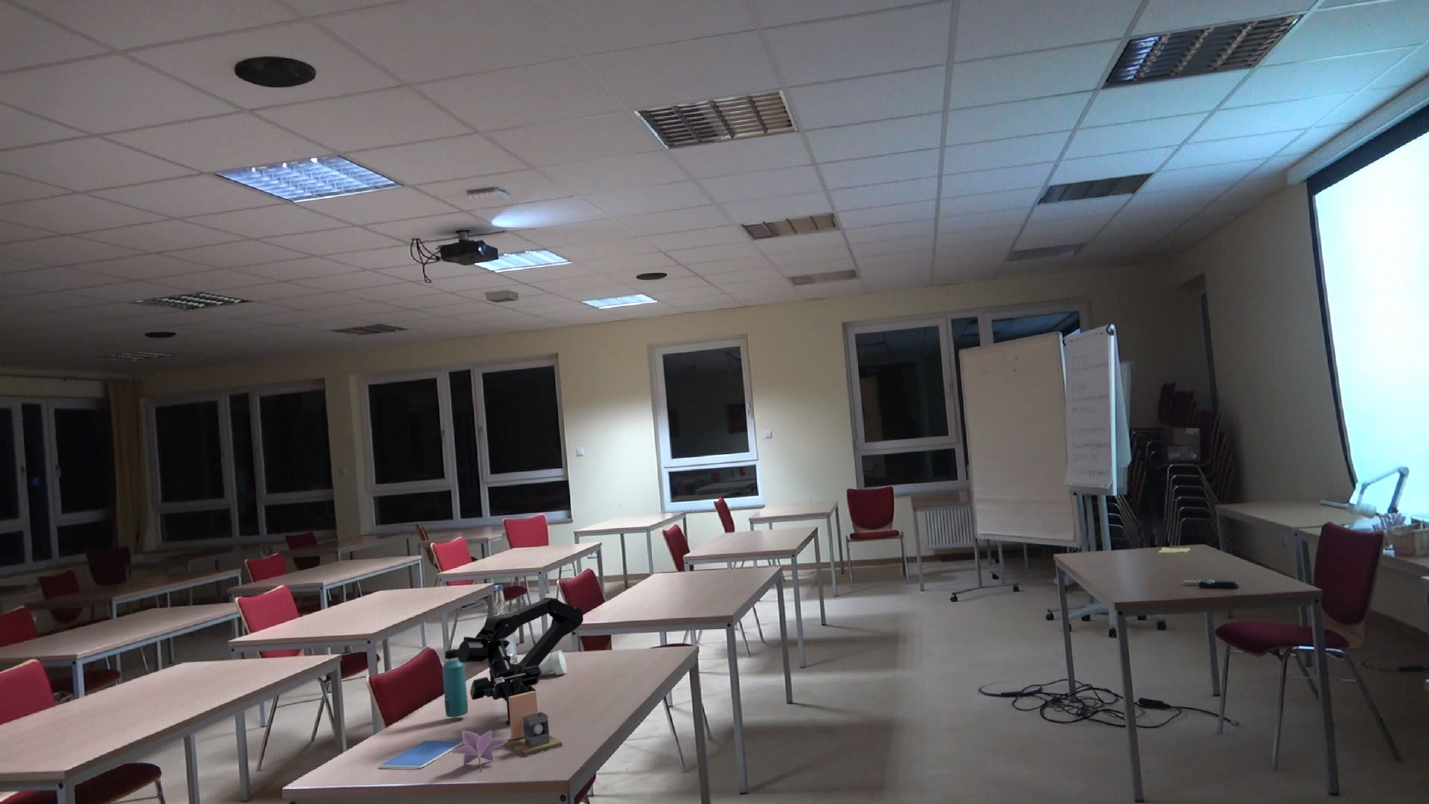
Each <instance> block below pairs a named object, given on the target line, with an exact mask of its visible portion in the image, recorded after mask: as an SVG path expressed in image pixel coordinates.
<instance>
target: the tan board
mask: <svg viewBox="0 0 1429 804" xmlns="http://www.w3.org/2000/svg"><path fill="white" fill-rule="evenodd" d="M506 740H508V742H507V743H505V744H504V745H505V746H506V747H508V746H509V747H508V748H510V749H511V748H512V750H513V751H515V752H516V751H517V752H516V753H518V752H519V753H518V754H520V755H521V754H522V755H521V756H523V757H524V756H525V758H526V757H529V756H528V755H530V756H532V755H531V754H533V755H536V753H537V754H540V753H542V752H541V751H544V752H547V751H549V750H548V749H551V748H554V749H557V748H556V747H558V748H560V747H559V746H561V747H563V741H561V740H558V739H557V738H555V737H553V736H551V735H550V734H549V740H550V743H548V744H544V745H541V746H537V747H534V748H530V747H528V746H526V745H525V738H524V737H520V738H517V739H512V738H507V739H506ZM546 750H547V751H546ZM551 750H552V749H551ZM539 752H540V753H539Z"/></svg>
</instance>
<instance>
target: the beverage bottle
mask: <svg viewBox="0 0 1429 804" xmlns="http://www.w3.org/2000/svg"><path fill="white" fill-rule="evenodd" d="M444 653H445V654H444V659H446V660H449V661H446V662H445V663H444V664H443V665H442V668H441V669H442V679H443V695H444V710H445V715H446V717H448V718H456V717H461V716H465V715H467V714H468V712H469V706H468V705H469V703H468V702H469V700H468V693H467V692H468V691H467V683H466V682H467V681H466V671H465V663H461V662H460V661H459V659H458V655H457V653H458V648H453V649H448V650H446V651H445V652H444ZM451 659H454V660H451ZM455 659H456V660H455Z"/></svg>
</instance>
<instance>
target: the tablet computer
mask: <svg viewBox="0 0 1429 804" xmlns="http://www.w3.org/2000/svg"><path fill="white" fill-rule="evenodd" d="M463 743H464V741H463V740H430V739H429V740H424V741H421V742H420V743H418V744H416V745H415V746H412V747H411V748H409V749H406V750H405V751H404V752H402V753H400V754H398V755H396V756H394V757H392V758H390V759H389V760H386V761H385V762H383V763H381V764H380V765H379V769H381V768H386V769H385V770H388V769H387V768H406V769H405V770H418V769H417V768H421V767H423V766H425V767H426V765H427V764H428V763H430V764H432V763H433V762H435V761H437V760H439V759H440V758H442V757H444V756H445V755H447V754H449V753H450V752H452V751H453V749H454V748H455V749H457V748H459V747H461V746H463V745H464V744H463ZM460 745H461V746H460ZM458 746H459V747H458ZM455 749H454V750H455ZM449 751H450V752H449ZM448 752H449V753H448ZM444 754H445V755H444ZM443 755H444V756H443ZM439 757H440V758H439ZM436 759H437V760H436ZM434 760H435V761H434ZM432 761H433V762H432ZM431 762H432V763H431ZM428 765H429V764H428ZM428 765H427V766H428ZM408 768H409V769H408ZM410 768H411V769H410ZM413 768H414V769H413Z"/></svg>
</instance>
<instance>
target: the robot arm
mask: <svg viewBox="0 0 1429 804" xmlns="http://www.w3.org/2000/svg"><path fill="white" fill-rule="evenodd" d="M583 613H584V612H583V610H582V609H581V608H579V607H573V606H571V605H569V604H567V603H564V602H562V601H560V600H559V599H558V598H556V597H548V596H547V597H544V598H542V599H540V600H539V601H537V602H534V603H531V604H529V605H527V606H525V607H522V608H520V609H517V610H515V611H513V612H509V613H503V614H502V613H501V614H497V615H491V616H489V617H488V618H486V620H485V623H484V625H483V627H482V628H481V629H480V631H479V632H478V633H477V634H476V635H475V637H471V636H464V637H463V641H461V643H460V644H459V646H458V648H457V649H458V653H457V655H458V657H457V660H459V661H460V662H461V663H464V664H469V663H471V664H476V663H478V664H480V663H482V662H484V661H485V660H486V663H487V665H488V668H489V671H488V673H489V677H490V678H489V677H487V676H484V677H481V678H477V679H474V680H473V681H472V682H471V683H472V684H471V686H470V691H469V694H470V698H471V700H472V701H475V700H479V699H483V698H484V697H487V698H491V697H492V699H493V700H495V701H497V700H499V699H503V701H505V702H506V709H507V710H506V711H507V720H505V724H510V712H509V699H508V697H510V696H514V695H518V694H523V693H527V692H531V691H535V692H537V691H536V689H535V688H534V687H533V686H536V685H537V684H538V683H539V681H540V678H541V673H542V672H541V669H540V667H539V665H540V663H541V662H542V661H543V660H545V659H547V658H546V657H547V656H548V655H549V654H550V653H552V652H553V650H554V648H555V647H556V646H557V645H558V643H560V641H561V640H562V639H563V638H564V637H566V636H567V635H569V634H570V633H572V632H574V631H576V630H577V629H578V628H579V627H580V626H581V625H582V624H583V622H584V614H583ZM547 614H548V616H549V617H551V618H552V619H551V624H550V626H549V628H548V629H547V630H546V631H545V632H544V634H543V635H542V636H541V637H540V638H539V639H538V641H537V642H536V643H535V644H534V645H533V647H532V648H530V650H529V651H528V652H527V653H526V655H524V657H523V658H522V659H521V660H520V661H519V662H518V663H512V662H511V659H512V658H511V655H508V652H507V650H506V649H507V648H508V646H509V645H510V644H511V642H510V641H509V640H507V638H508V637H510V636H511V635H512V634H514V633H515V632H517V630H518V629H519V628H520V627H521V626H523V625H525V624H527V623H530V622H532V621H535V620H536V619H539V618H541V617H544V616H545V615H547Z"/></svg>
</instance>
